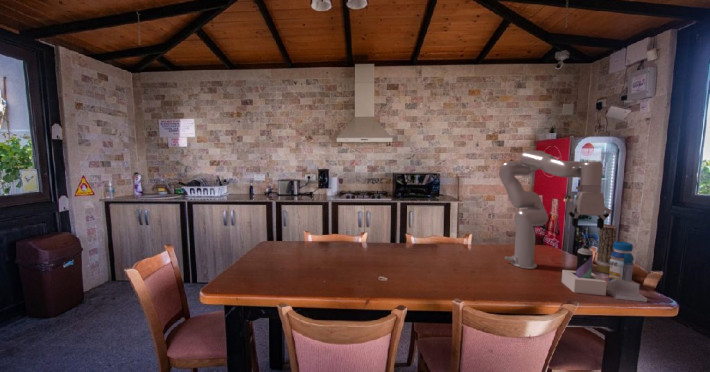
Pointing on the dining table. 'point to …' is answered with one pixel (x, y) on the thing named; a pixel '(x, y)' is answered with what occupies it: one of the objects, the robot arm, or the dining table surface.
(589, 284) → the bore block
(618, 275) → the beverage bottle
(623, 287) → the v-block
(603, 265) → the wooden log
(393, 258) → the dining table surface
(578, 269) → the spray can
